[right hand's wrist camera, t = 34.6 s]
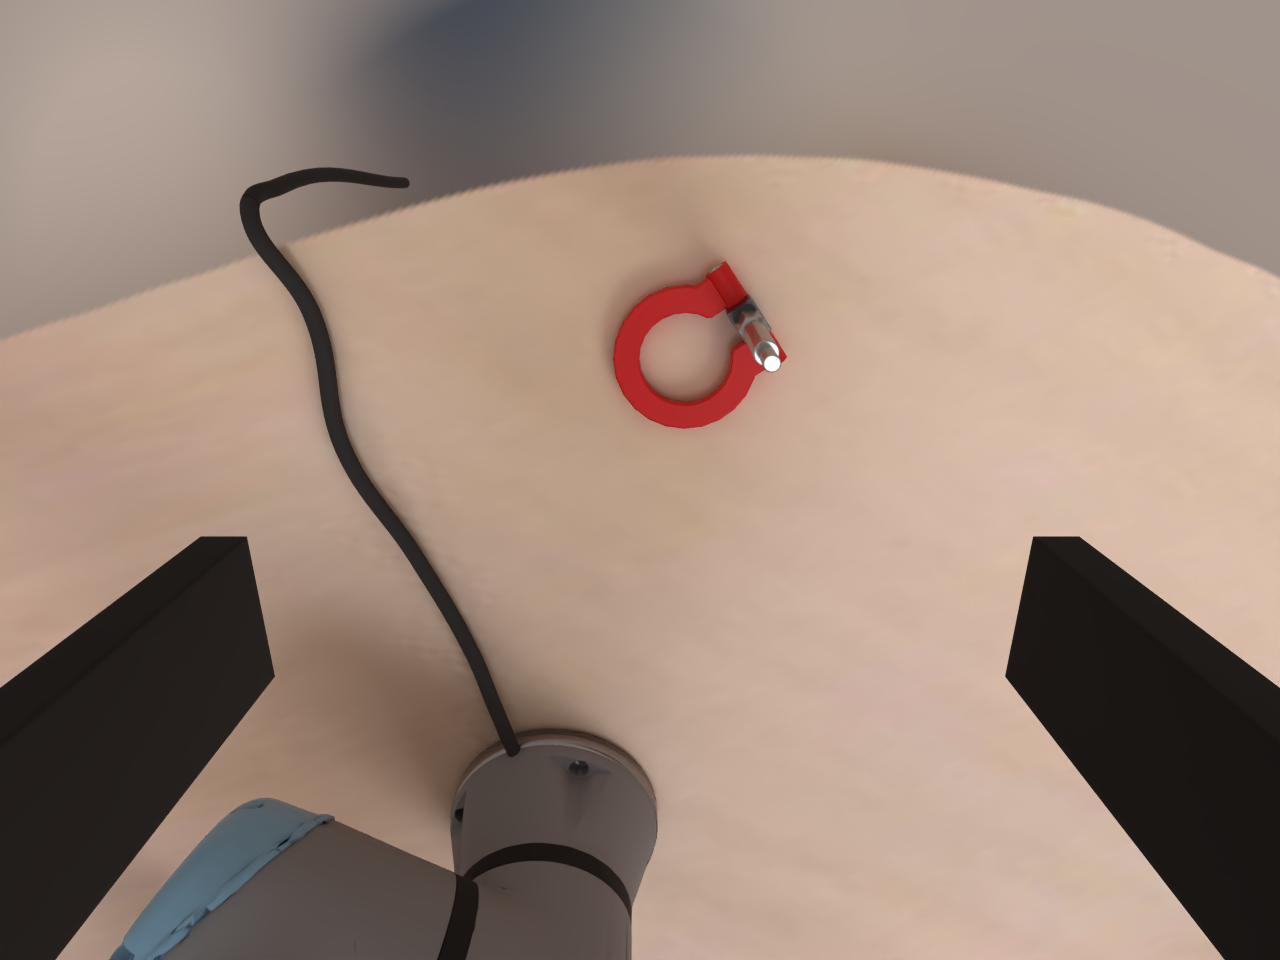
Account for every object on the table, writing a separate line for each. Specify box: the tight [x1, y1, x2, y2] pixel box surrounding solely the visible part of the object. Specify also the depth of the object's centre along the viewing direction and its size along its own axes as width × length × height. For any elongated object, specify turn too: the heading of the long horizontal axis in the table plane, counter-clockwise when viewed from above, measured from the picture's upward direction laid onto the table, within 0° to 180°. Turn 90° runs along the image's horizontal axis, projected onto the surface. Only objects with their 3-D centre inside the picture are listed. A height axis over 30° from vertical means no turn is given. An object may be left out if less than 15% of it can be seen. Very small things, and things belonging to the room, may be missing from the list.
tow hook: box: [613, 262, 787, 429], centre depth 39 cm, size 8×13×9 cm
